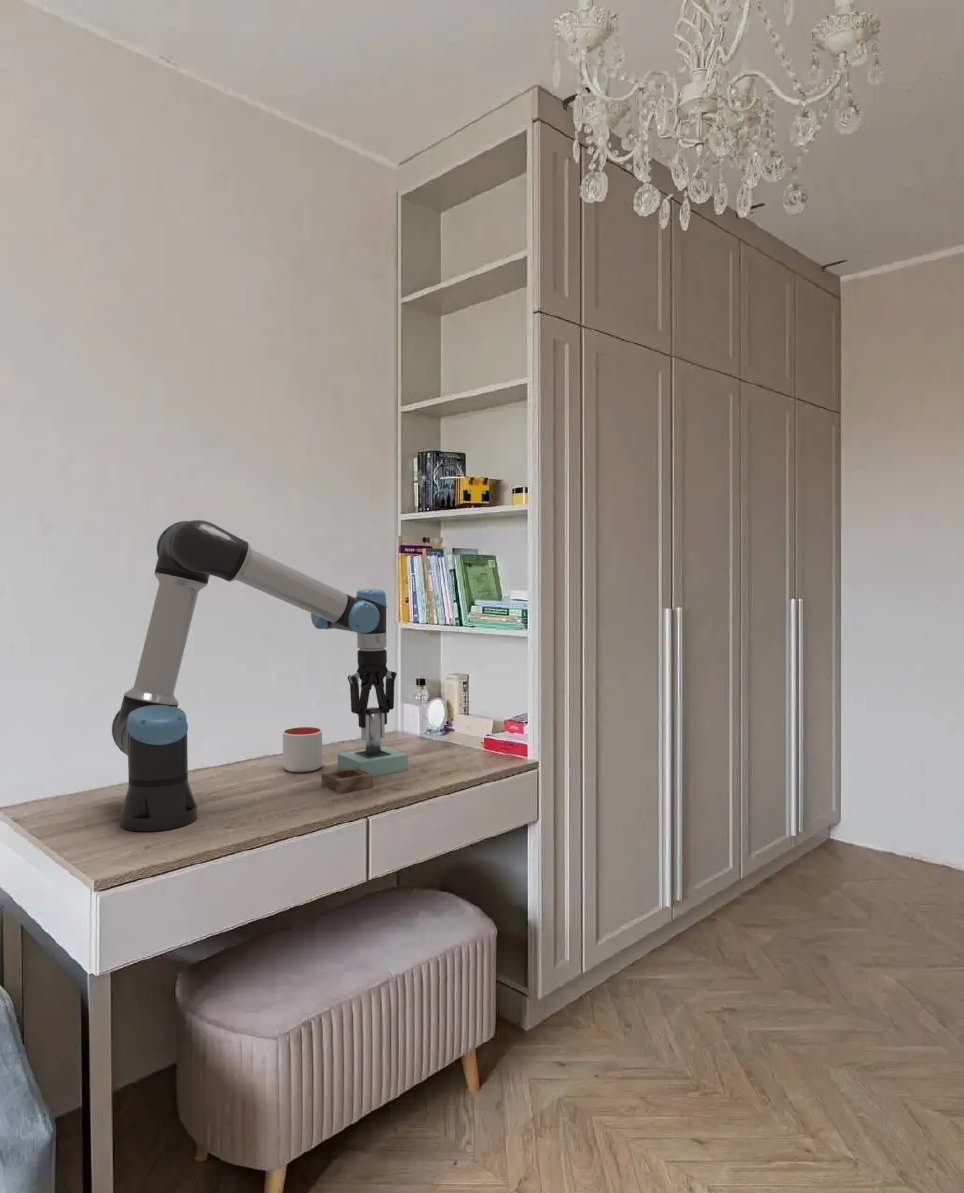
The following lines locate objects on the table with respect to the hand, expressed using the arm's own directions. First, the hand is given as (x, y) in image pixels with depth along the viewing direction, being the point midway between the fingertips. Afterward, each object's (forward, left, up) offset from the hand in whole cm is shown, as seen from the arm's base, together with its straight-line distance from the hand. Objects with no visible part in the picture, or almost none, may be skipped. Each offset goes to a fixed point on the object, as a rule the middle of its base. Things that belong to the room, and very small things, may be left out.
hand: (373, 738), depth 218 cm
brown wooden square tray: (-13, -10, -8) cm, 18 cm away
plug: (0, 0, -4) cm, 4 cm away
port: (0, 0, -8) cm, 8 cm away
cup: (-14, +12, -8) cm, 20 cm away
